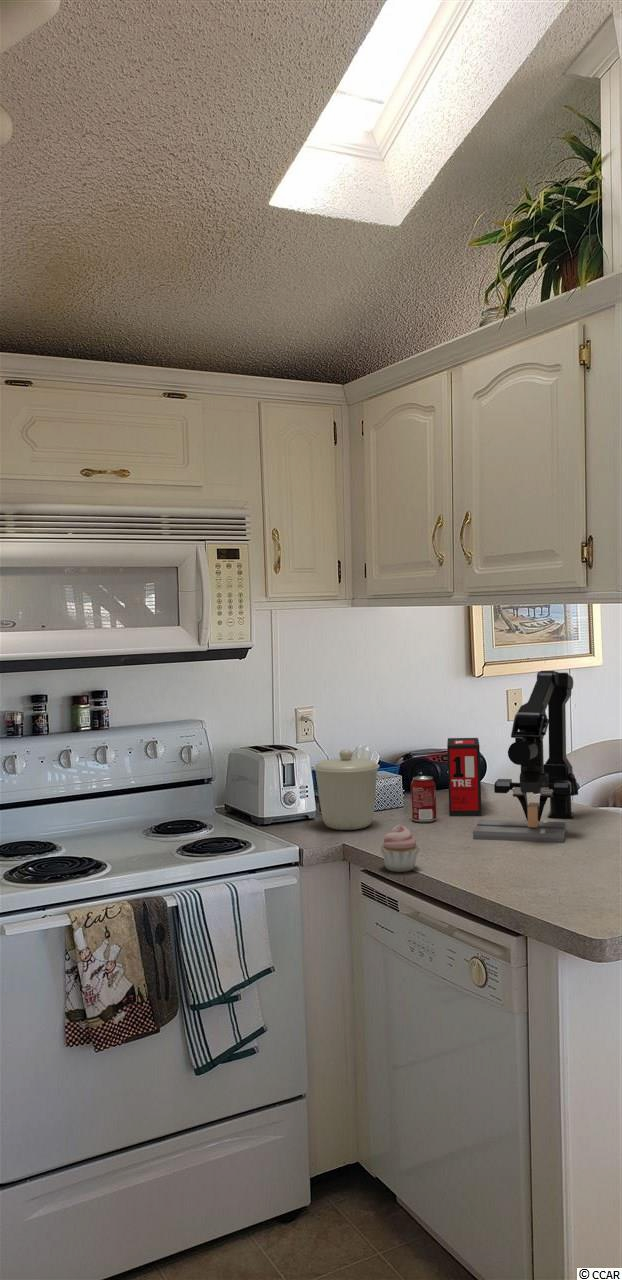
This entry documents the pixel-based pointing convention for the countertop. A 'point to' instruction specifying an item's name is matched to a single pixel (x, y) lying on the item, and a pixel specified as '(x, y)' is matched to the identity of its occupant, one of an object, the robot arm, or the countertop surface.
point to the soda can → (423, 799)
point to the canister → (347, 791)
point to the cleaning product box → (464, 777)
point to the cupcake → (399, 850)
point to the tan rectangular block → (533, 814)
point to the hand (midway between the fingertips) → (533, 820)
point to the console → (519, 831)
